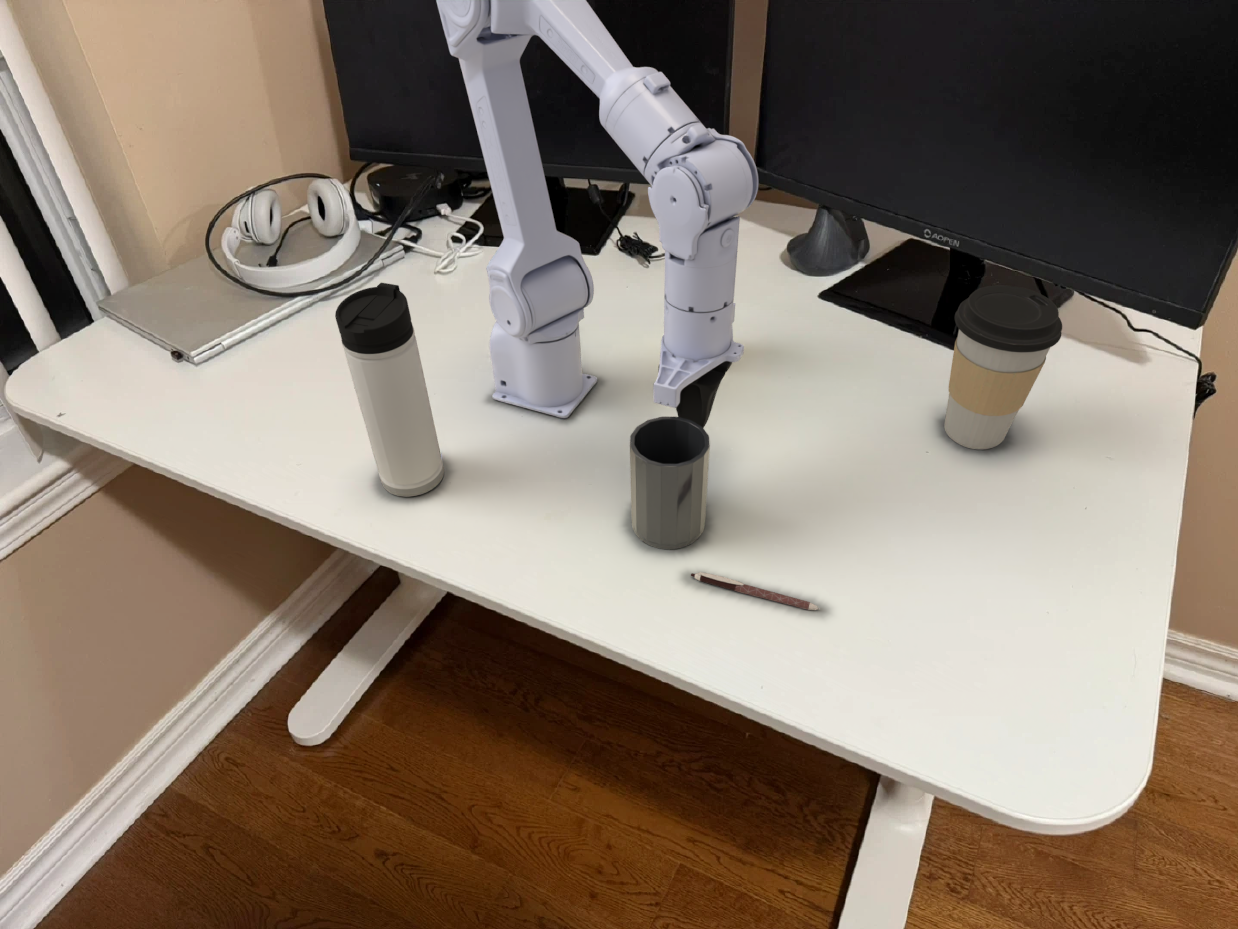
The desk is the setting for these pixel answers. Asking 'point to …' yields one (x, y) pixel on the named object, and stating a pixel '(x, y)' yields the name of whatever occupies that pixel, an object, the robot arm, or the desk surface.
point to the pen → (752, 590)
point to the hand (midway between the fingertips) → (693, 425)
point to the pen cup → (669, 481)
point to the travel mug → (391, 388)
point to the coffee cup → (997, 361)
